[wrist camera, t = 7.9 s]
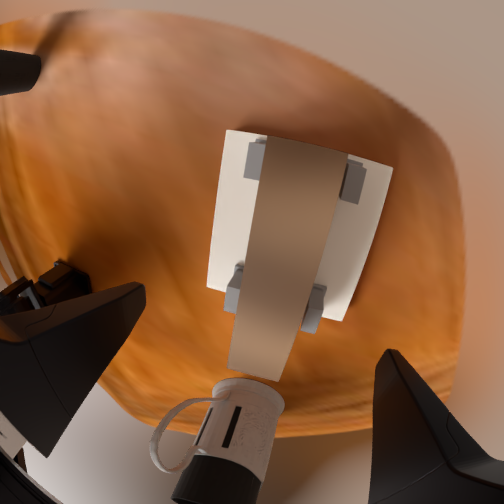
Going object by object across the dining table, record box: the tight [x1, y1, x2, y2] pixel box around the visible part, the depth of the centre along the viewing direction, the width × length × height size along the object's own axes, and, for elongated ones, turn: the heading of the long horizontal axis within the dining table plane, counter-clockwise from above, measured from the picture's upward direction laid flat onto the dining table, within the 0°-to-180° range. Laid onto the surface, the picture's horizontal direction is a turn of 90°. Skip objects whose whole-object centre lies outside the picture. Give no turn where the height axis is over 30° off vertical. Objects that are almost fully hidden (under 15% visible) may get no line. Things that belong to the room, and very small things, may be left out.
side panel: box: [207, 130, 393, 334], centre depth 18 cm, size 12×11×4 cm
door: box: [227, 135, 348, 382], centre depth 15 cm, size 12×3×7 cm, turn 170°
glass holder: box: [150, 378, 285, 504], centre depth 21 cm, size 9×14×15 cm, turn 25°
